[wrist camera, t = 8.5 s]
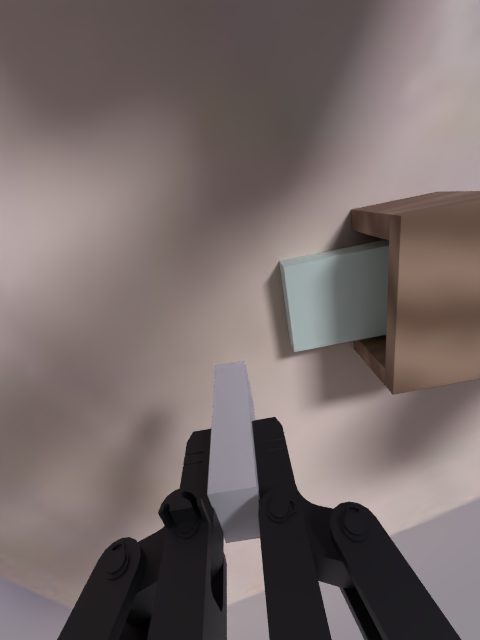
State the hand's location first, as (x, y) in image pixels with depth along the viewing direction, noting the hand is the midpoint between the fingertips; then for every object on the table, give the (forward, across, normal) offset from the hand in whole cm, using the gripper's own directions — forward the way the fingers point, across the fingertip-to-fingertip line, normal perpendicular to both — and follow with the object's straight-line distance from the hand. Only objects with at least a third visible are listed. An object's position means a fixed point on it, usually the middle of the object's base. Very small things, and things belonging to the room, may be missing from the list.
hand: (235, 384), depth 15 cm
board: (+12, +10, -1) cm, 16 cm away
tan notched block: (+12, +14, -1) cm, 19 cm away
